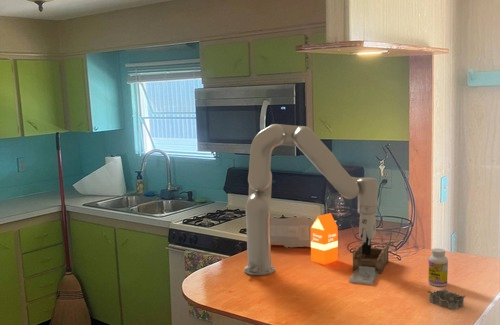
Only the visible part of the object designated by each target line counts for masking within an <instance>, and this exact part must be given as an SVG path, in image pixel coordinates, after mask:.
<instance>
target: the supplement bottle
mask: <svg viewBox="0 0 500 325" xmlns="http://www.w3.org/2000/svg"><path fill="white" fill-rule="evenodd" d="M431 254H432V255H430V256H429V258H428V276H427V278H428V284H429V285H431V286H434V287H444V286H447V284H448V277H449V276H448V274H449V273H448V272H449V271H448V268H449V260H448V259H449V258H448V257H447V256H446V249H443V248H440V247H439V248H432V249H431Z"/></svg>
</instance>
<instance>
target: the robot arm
mask: <svg viewBox="0 0 500 325" xmlns="http://www.w3.org/2000/svg"><path fill="white" fill-rule="evenodd" d="M278 146H291V147H297V149H299V151H300V152H302V154H303V155H304V156H305V157H306V159H308V161H310V163H311V164H312V165H313V167H315V168H316V169H317V171H318V172H319V173H320V174H322V175H323V176H324V177H325V179H327V181H328V182H329V183H330V185H332V187H334V189H335V190H336V191H337V192H338V194H340V195H341V196H342V197H343V198H344V199H346V200H352V199H355V198H357V213H358V214H359V224H358V225H359V232H358V235H359V236H358V238H360V239H361V240H362V241H361V243H362V254H363V255H370V254H371V248H372V239H374V237H375V236H376V234H377V226H376V225H377V222H376V218H377V217H376V215H377V214H378V191H379V190H378V186H379V183H378V180H377V178H374V177H369V176H367V177H364V176H363V177H356V176H351V175H350V174H349V173H348V172H347V170H345V168H344V167H343V166H342V164H341V163H340V162H339V160H338V159H337V157H336V156H335V155H334V154H333V152H332V151H331V150H330V149H329V148H328V147H327V145H326V144H324V142H323V141H322V140H321V139H320V138H319V137H318V135H316V134H315V132H314V131H313V130H312V128H310V127H309V126H307V125H306V126H305V125H291V124H279V123H274V124H270V125H269V126H267V127H266V128H264V129H262V130H260V131H259V132H258V133H257V134H256V135H255V137H254V138H253V139H252V141H251V145H250V149H249V150H250V152H249V163H248V164H249V166H248V175H247V182H248V198H247V200H246V203H245V211H244V212H245V220H246V224H245V225H246V252H247V253H246V254H247V255H246V256H247V265H245V266H244V268H243V271H244V273H245V274H247V275H250V276H266V275H267V276H268V275H270V274H273V273H274V272H275V271H276V266H274V265H273V264H272V250H271V249H272V248H271V247H272V246H271V245H272V244H271V239H270V217H271V216H270V214H271V213H270V212H271V210H270V209H271V204H272V186H273V185H272V184H273V173H272V170H271V163H272V152H273V150H274V148H276V147H278Z"/></svg>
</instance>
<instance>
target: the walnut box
mask: <svg viewBox="0 0 500 325" xmlns="http://www.w3.org/2000/svg"><path fill="white" fill-rule="evenodd" d="M388 263H389V243H386V244H385V245H384V247H383V248H377V247H371V254H370V255H363V254H362V242H361V243H360V244H359V245H358V247H356V249H355V250H354V251H353V253H352V272H355V270H356V269H357V268H359V265H365V266H375V267H376V270H379V275H382V273H383V271H384V269H386V268H385V267H386V266H387V264H388Z"/></svg>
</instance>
